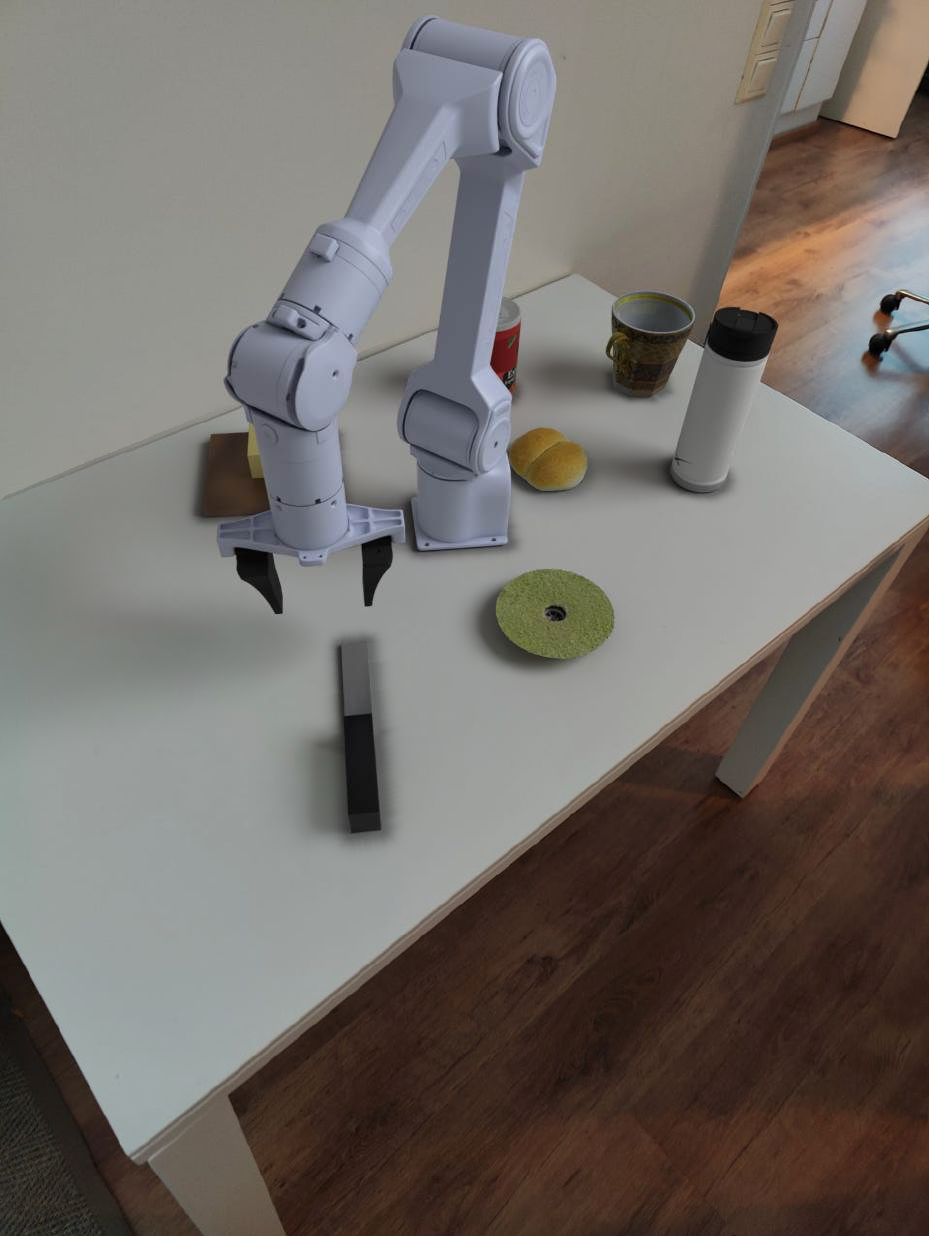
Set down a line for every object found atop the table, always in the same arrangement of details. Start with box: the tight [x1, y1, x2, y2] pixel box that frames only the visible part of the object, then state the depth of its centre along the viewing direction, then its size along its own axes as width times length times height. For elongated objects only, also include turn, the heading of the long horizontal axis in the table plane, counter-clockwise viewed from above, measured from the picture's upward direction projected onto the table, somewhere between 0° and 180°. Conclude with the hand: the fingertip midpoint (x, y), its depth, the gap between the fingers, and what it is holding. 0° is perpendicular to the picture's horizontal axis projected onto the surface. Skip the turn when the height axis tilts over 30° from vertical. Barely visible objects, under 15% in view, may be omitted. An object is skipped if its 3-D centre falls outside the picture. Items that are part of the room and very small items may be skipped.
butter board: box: [202, 431, 271, 518], centre depth 92 cm, size 14×13×1 cm
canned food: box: [490, 296, 522, 396], centre depth 100 cm, size 8×8×11 cm
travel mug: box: [669, 306, 779, 493], centre depth 87 cm, size 6×7×20 cm
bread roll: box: [508, 427, 589, 492], centre depth 93 cm, size 8×9×4 cm
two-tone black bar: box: [340, 640, 382, 834], centre depth 69 cm, size 19×2×3 cm, turn 8°
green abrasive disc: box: [495, 568, 616, 659], centre depth 78 cm, size 11×11×2 cm
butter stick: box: [247, 422, 264, 478], centre depth 91 cm, size 4×8×3 cm, turn 8°
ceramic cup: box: [605, 290, 696, 398], centre depth 102 cm, size 13×10×10 cm
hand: (323, 601), depth 71 cm, fingers open, 7 cm apart
